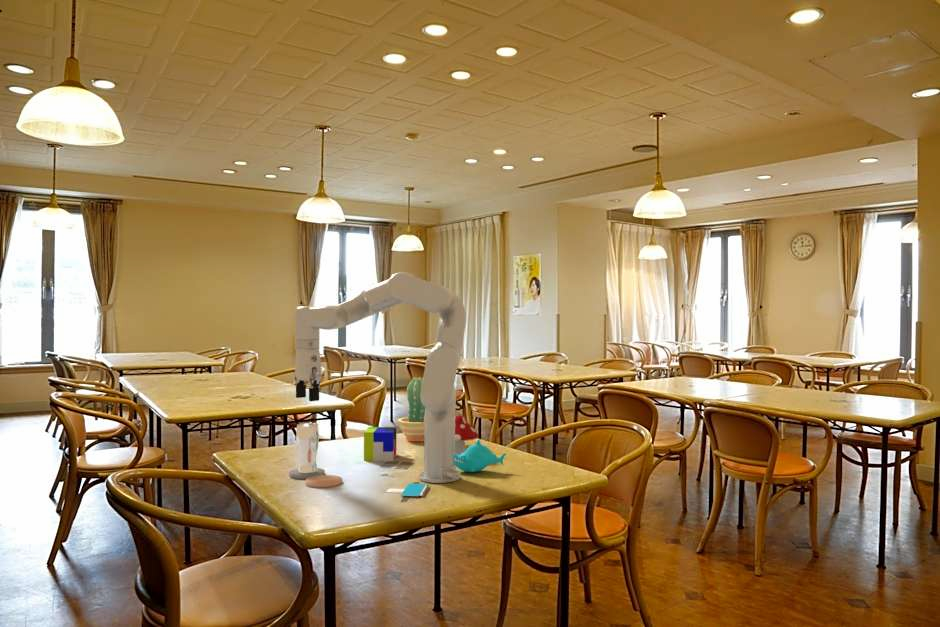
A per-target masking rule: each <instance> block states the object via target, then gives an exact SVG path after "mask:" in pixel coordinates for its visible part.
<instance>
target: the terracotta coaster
mask: <svg viewBox="0 0 940 627" xmlns="http://www.w3.org/2000/svg"><path fill="white" fill-rule="evenodd" d="M304 480H305V481H304V485H305V486H306V487H308V488H316V489H318V488H319V489H325V488H333V487H337V486H340V485H342V484H343V477H342V476H339V475H333V474H325V475H319V476H313V477H309V478H307V479H304Z"/></svg>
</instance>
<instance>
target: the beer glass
mask: <svg viewBox="0 0 940 627" xmlns="http://www.w3.org/2000/svg"><path fill="white" fill-rule="evenodd" d="M295 436H296V437H295V438H296V439H295V440H296V441H295V442H296V449H297V455H298V468H297V469H298V473H300V474H312V473H315V472H317V468H318V465H317V456H318V450H319V440H320V433H319V423H316V422H304V423H299V424H296V435H295Z"/></svg>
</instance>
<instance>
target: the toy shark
mask: <svg viewBox="0 0 940 627" xmlns="http://www.w3.org/2000/svg"><path fill="white" fill-rule="evenodd" d="M505 456H507V452H504V453H502V455H501V456H500V457H498V456H497V454H496V453H493V452H492V451H491V449H489V448H488V447H487V446H486V445H484V444H482V443H481V440H480V438H478V439H477V441H476V443H475V444H471V445H470V446H469V447H466V451H465V452H464V453H461V455H457V454H455V465H456V469H459V470H461V471H463V472H466V473H476V472H480V471H482V470H484V469H486V468H487V467H489V466H490V465H493V464H494V465H497V464H498V463H500V464H501V465H502V466H503V465H505V464H504V458H505Z"/></svg>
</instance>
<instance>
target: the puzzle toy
mask: <svg viewBox="0 0 940 627" xmlns="http://www.w3.org/2000/svg"><path fill="white" fill-rule="evenodd" d="M396 457H397V427H394V426H393V427H392V426H387V427H385V426H369V427H367V429H365V431H363V461H364V462H366V461H367V462H393V461H394V459H395V458H396Z"/></svg>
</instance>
